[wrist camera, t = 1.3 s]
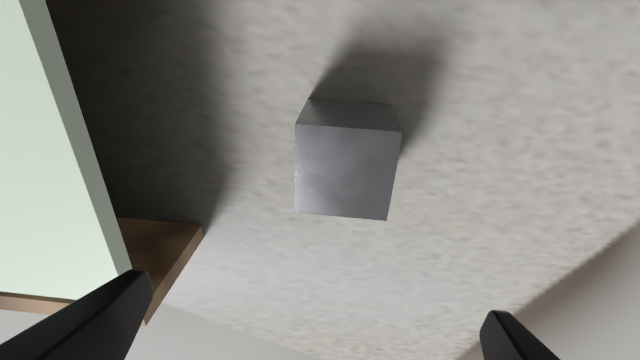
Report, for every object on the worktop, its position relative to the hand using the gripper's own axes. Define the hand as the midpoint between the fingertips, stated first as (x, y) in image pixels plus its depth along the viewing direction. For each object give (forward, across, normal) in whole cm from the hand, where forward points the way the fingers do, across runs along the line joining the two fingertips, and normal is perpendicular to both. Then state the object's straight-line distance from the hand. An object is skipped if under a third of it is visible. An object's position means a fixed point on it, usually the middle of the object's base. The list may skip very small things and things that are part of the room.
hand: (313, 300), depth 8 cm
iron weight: (+13, -1, 0) cm, 13 cm away
